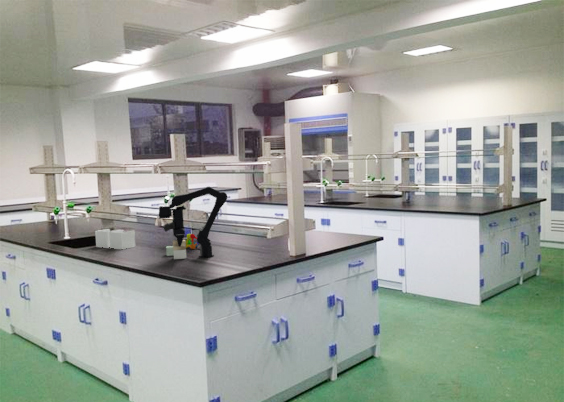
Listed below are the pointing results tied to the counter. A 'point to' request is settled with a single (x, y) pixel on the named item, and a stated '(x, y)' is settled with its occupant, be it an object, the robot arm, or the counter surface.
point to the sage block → (169, 250)
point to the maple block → (176, 247)
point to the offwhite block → (179, 254)
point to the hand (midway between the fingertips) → (179, 245)
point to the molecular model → (193, 244)
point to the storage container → (115, 239)
